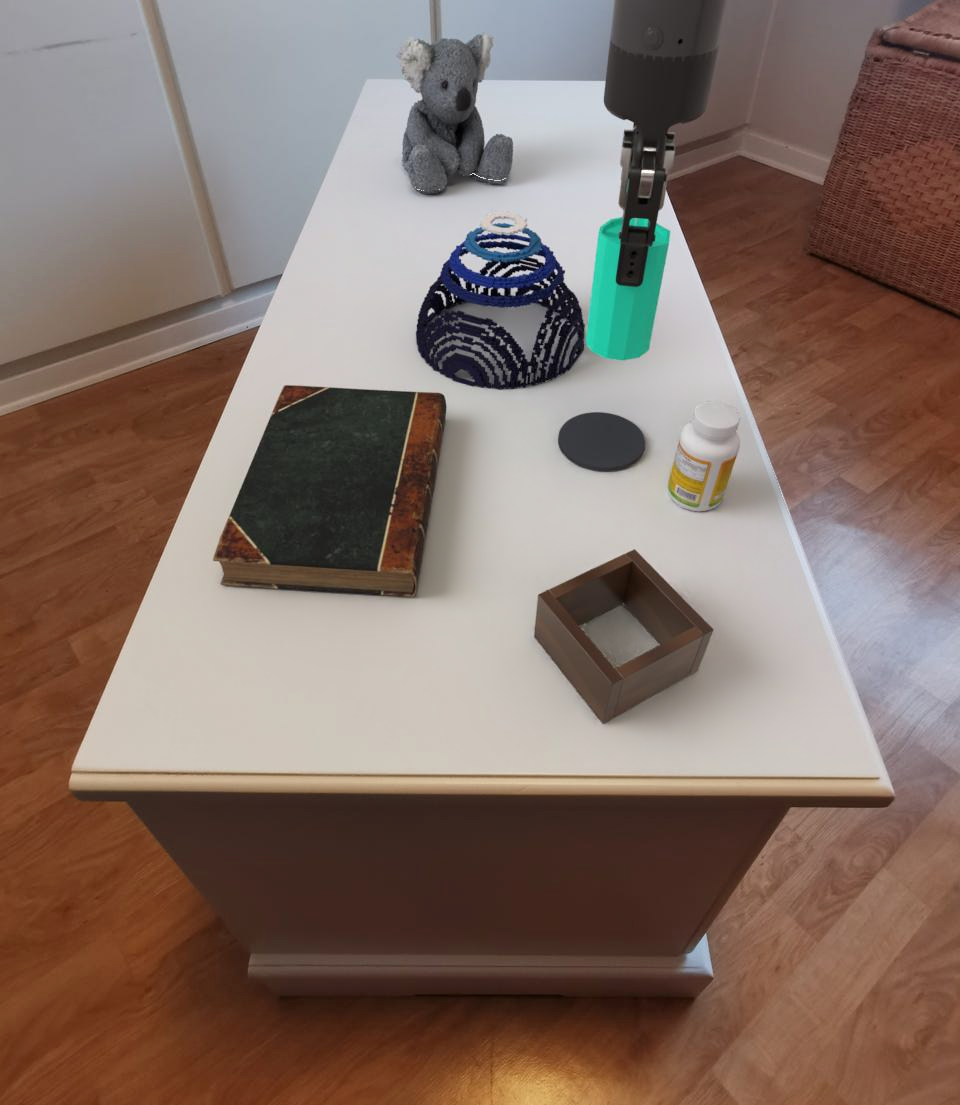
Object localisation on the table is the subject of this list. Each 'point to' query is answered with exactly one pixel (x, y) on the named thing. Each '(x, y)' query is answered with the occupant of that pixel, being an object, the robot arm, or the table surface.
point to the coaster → (601, 441)
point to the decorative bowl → (495, 299)
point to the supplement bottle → (705, 457)
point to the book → (337, 493)
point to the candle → (624, 296)
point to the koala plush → (449, 114)
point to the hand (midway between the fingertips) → (629, 264)
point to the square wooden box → (653, 608)
